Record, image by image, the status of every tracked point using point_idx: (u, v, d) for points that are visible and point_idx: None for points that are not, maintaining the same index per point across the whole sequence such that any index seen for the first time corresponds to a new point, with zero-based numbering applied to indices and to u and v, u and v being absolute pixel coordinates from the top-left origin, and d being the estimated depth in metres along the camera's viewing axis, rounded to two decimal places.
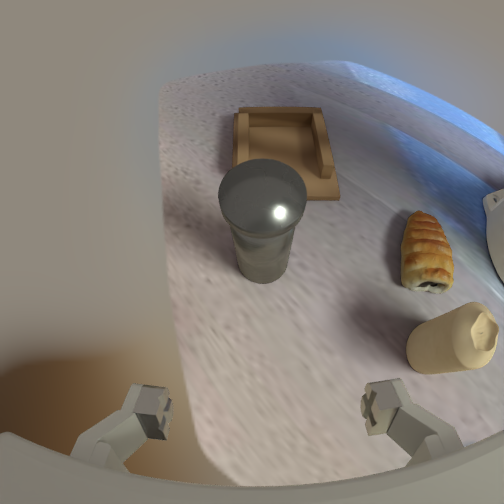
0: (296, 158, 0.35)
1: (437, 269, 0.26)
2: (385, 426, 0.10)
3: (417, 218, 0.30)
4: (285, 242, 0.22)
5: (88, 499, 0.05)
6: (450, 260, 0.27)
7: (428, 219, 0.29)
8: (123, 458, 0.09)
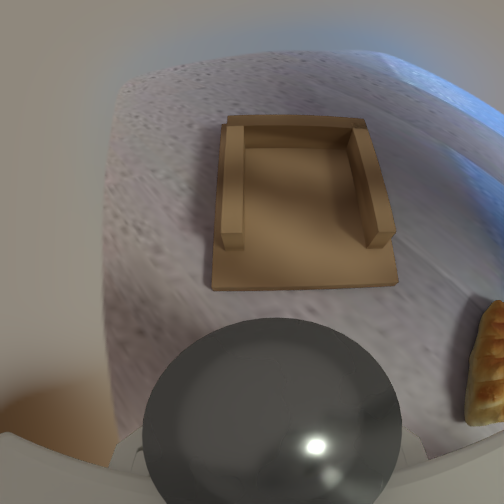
0: (325, 208, 0.20)
1: None
2: None
3: (498, 318, 0.15)
4: None
5: (88, 499, 0.05)
6: None
7: None
8: None
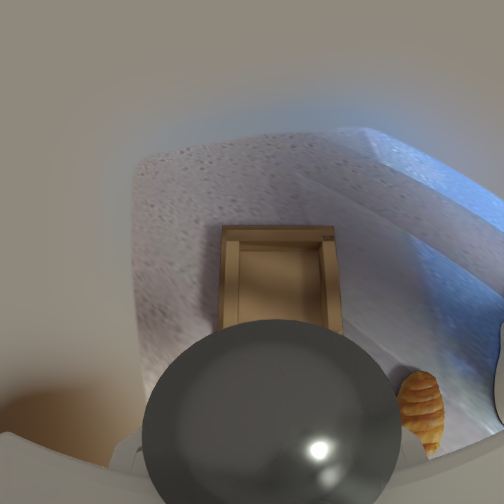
0: (296, 304, 0.29)
1: (423, 446, 0.21)
2: None
3: (412, 387, 0.24)
4: None
5: (88, 499, 0.05)
6: (440, 429, 0.21)
7: (425, 385, 0.24)
8: None
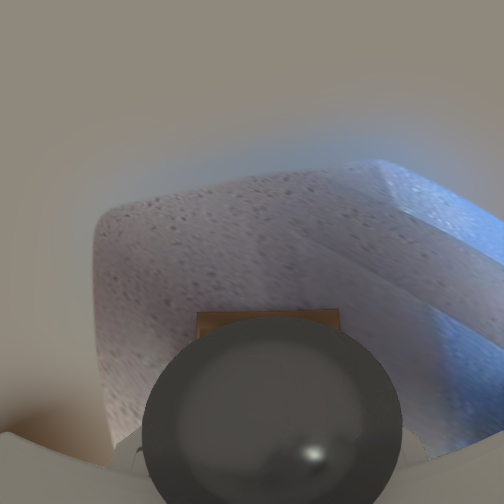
0: None
1: None
2: None
3: None
4: None
5: (88, 499, 0.05)
6: None
7: None
8: None
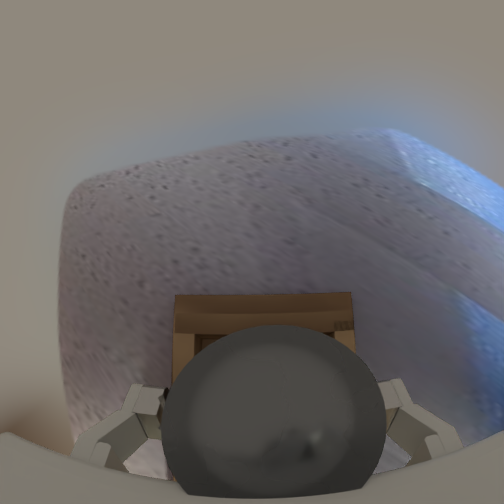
0: None
1: None
2: None
3: None
4: None
5: (88, 499, 0.05)
6: None
7: None
8: (123, 458, 0.09)
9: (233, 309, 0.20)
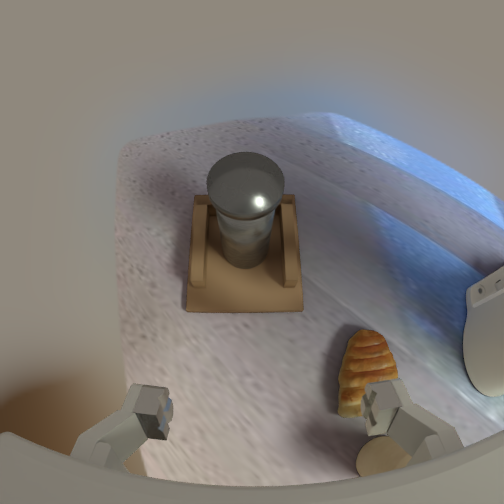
0: None
1: None
2: (385, 426, 0.10)
3: (358, 344, 0.28)
4: (265, 227, 0.25)
5: (88, 499, 0.05)
6: None
7: (371, 342, 0.28)
8: (123, 458, 0.09)
9: None
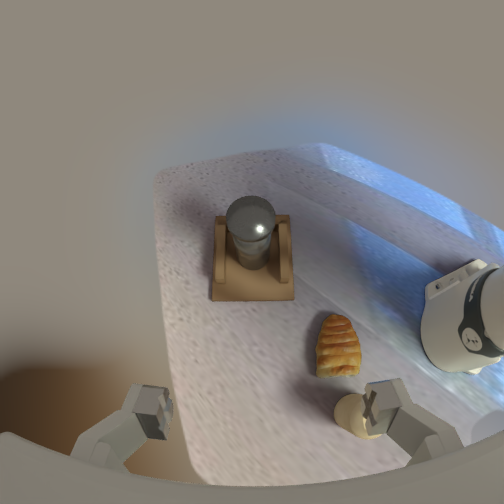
0: None
1: (342, 366, 0.37)
2: (385, 426, 0.10)
3: (328, 324, 0.41)
4: (264, 244, 0.38)
5: (88, 499, 0.05)
6: (355, 355, 0.38)
7: (338, 323, 0.41)
8: (123, 458, 0.09)
9: None
